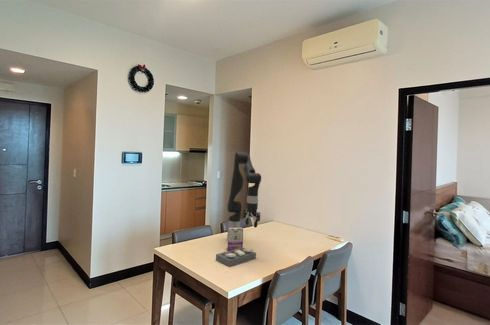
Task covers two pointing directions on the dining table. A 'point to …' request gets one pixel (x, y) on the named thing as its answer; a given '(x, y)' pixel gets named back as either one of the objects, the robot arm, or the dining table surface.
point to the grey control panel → (235, 257)
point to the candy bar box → (235, 238)
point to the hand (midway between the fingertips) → (251, 225)
